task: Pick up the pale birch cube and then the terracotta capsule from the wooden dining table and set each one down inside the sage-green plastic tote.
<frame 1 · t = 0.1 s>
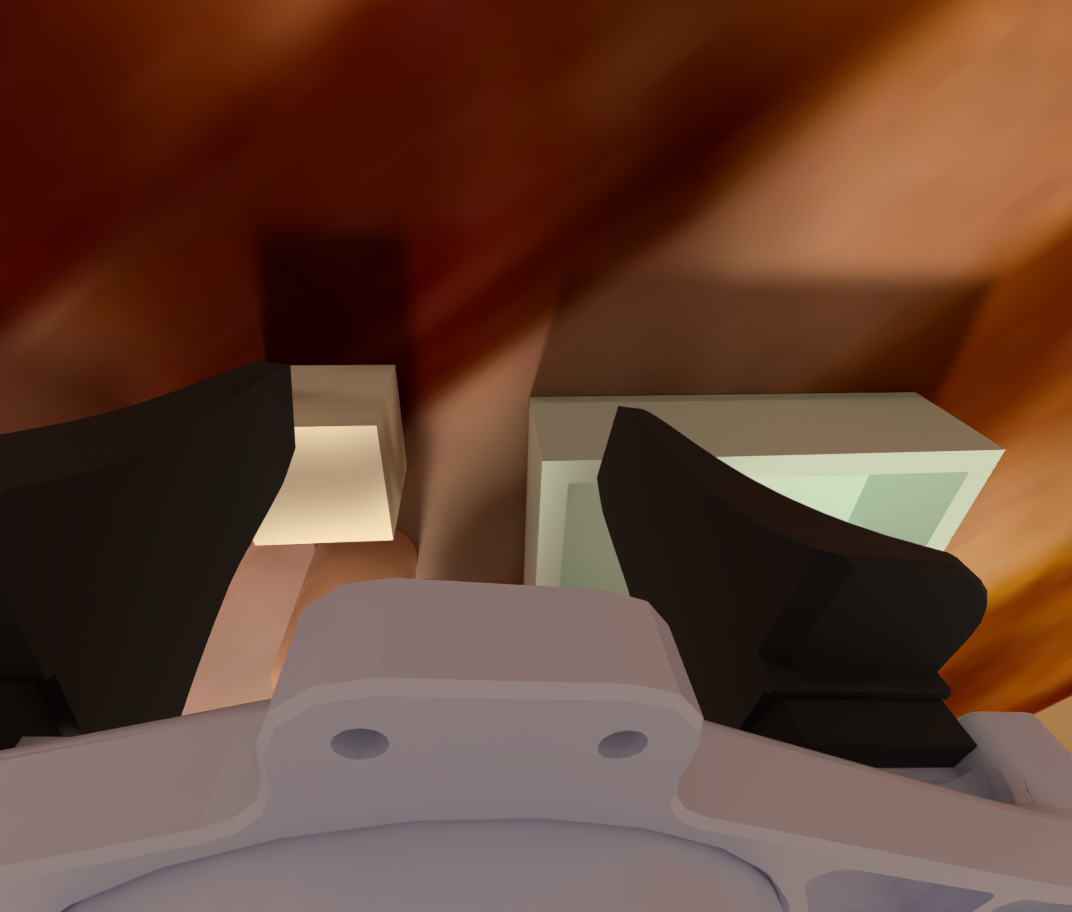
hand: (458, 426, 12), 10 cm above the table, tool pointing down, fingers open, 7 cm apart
terracotta capsule: (367, 558, 27), on the table
birch cube: (341, 419, 23), on the table
tote: (698, 516, 28), on the table
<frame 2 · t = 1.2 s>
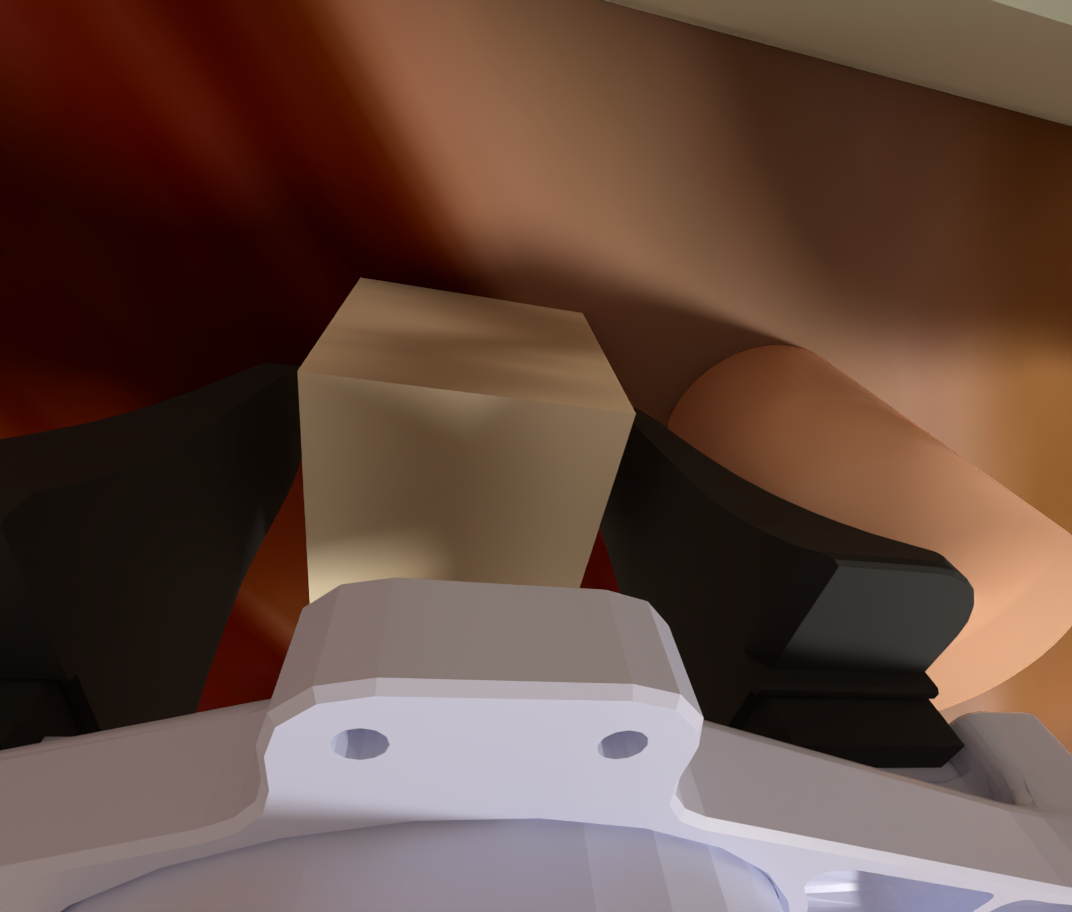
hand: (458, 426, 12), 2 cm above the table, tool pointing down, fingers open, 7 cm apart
terracotta capsule: (752, 429, 15), on the table, touching gripper
birch cube: (463, 393, 13), on the table
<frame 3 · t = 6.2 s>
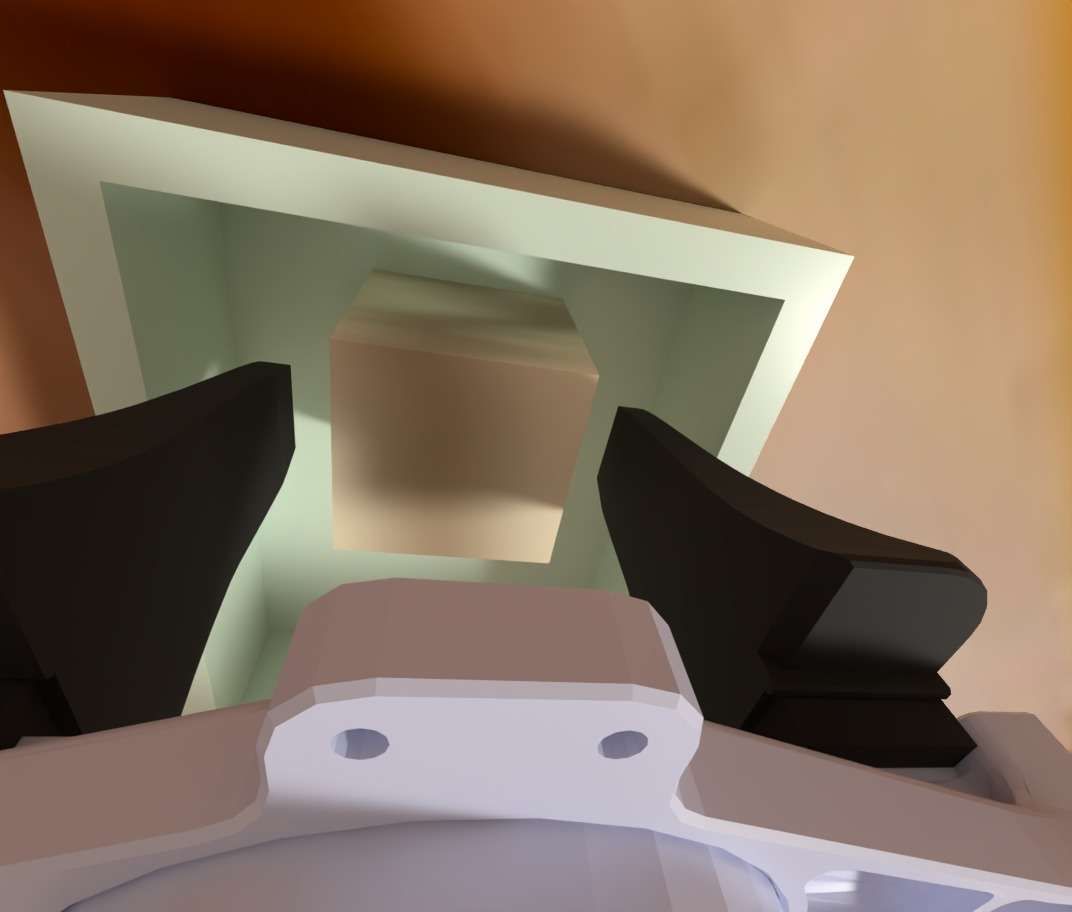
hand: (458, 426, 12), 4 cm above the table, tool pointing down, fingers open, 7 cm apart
birch cube: (460, 371, 15), point 1 cm above the table, touching tote
tote: (448, 464, 18), on the table
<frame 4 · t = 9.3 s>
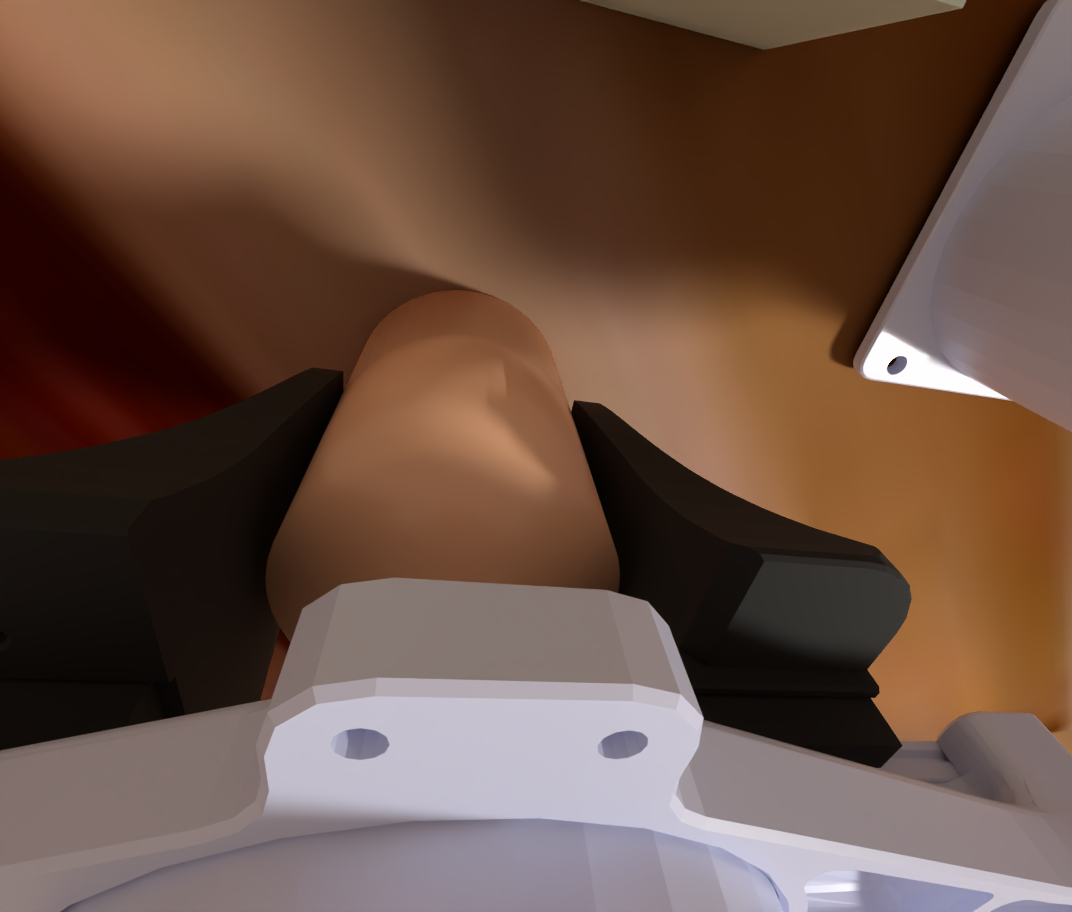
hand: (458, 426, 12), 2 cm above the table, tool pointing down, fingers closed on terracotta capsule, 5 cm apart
terracotta capsule: (460, 388, 14), on the table, touching gripper
when the fingers open (4 cm above the table, at t = 12.7 s): terracotta capsule drops 2 cm, resting on tote.
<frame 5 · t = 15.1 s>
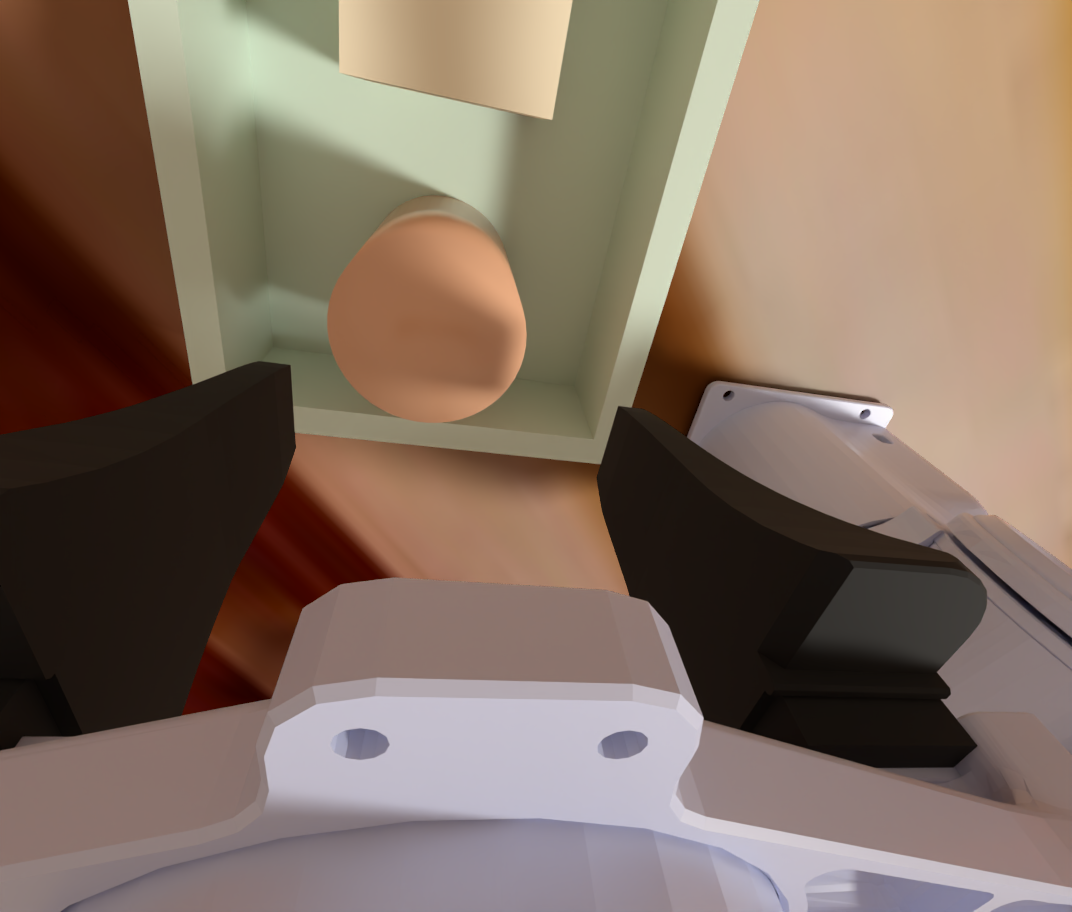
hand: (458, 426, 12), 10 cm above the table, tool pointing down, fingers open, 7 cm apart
terracotta capsule: (440, 270, 19), point 1 cm above the table, touching tote
tote: (451, 141, 18), on the table
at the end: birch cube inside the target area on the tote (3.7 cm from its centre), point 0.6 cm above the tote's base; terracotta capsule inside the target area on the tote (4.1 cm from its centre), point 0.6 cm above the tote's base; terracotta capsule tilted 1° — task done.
